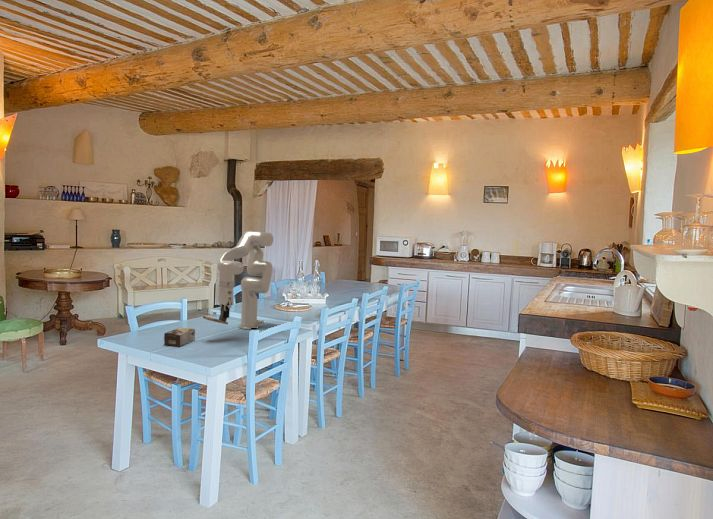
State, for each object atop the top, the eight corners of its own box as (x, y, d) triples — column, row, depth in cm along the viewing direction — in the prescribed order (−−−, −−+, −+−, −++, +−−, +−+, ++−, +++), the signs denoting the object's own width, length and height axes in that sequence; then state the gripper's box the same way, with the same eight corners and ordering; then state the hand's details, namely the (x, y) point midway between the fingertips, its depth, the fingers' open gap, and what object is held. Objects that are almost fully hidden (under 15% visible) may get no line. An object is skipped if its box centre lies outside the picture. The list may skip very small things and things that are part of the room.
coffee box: (180, 338, 275) (163, 345, 259) (180, 326, 274) (163, 333, 259) (195, 340, 273) (179, 346, 257) (195, 328, 273) (179, 334, 257)
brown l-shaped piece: (222, 322, 280) (228, 303, 281) (227, 324, 275) (233, 305, 276) (202, 317, 272) (208, 298, 274) (208, 320, 267) (214, 300, 268)
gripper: (239, 286, 272) (237, 319, 273) (225, 282, 284) (224, 314, 286) (226, 286, 267) (224, 320, 268) (213, 282, 279) (212, 315, 281)
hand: (224, 316), depth 277 cm, fingers closed on brown l-shaped piece, 3 cm apart
